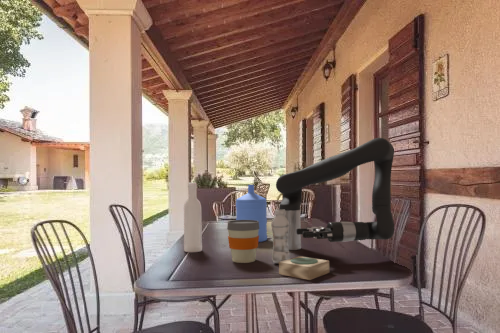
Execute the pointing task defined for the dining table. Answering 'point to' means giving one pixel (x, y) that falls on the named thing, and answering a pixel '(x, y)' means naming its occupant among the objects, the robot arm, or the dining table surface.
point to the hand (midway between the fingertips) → (299, 233)
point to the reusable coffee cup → (243, 240)
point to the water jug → (253, 211)
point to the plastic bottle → (280, 237)
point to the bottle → (192, 221)
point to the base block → (304, 267)
